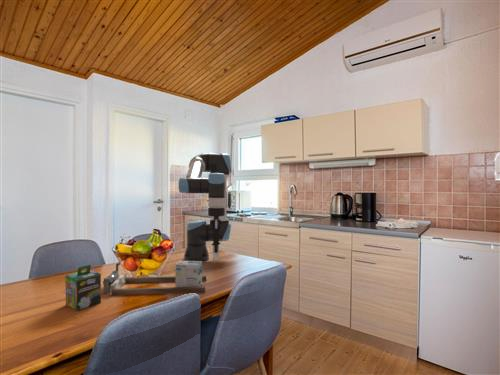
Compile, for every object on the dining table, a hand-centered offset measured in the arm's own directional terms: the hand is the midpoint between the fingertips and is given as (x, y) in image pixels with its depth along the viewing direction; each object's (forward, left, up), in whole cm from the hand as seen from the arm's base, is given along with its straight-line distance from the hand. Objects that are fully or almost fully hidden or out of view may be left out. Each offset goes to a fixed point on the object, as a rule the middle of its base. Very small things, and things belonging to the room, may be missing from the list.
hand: (215, 259), depth 130 cm
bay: (0, -23, -12) cm, 26 cm away
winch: (-3, -45, -12) cm, 47 cm away
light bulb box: (0, -12, -12) cm, 17 cm away
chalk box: (+16, -50, -12) cm, 54 cm away
